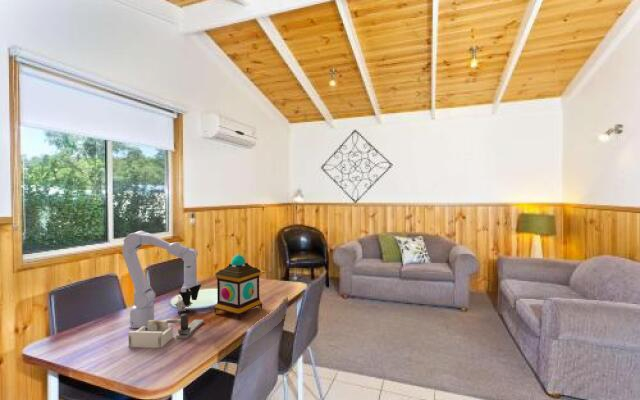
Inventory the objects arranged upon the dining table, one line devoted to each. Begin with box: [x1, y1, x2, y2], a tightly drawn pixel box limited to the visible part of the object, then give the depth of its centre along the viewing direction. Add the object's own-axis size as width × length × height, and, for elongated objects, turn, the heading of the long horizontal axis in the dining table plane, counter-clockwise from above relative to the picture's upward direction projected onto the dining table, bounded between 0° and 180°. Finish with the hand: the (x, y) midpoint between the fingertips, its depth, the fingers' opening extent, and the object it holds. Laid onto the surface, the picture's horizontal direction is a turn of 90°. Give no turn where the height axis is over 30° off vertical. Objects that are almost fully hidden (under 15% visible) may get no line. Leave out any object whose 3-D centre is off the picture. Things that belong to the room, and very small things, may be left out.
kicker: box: [147, 313, 191, 335], centre depth 135 cm, size 17×4×9 cm, turn 87°
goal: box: [127, 326, 174, 349], centre depth 129 cm, size 13×9×6 cm
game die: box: [174, 295, 193, 314], centre depth 163 cm, size 9×8×10 cm
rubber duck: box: [149, 322, 157, 331], centre depth 131 cm, size 5×7×8 cm
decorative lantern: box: [214, 254, 263, 321], centre depth 162 cm, size 20×20×30 cm
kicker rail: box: [176, 319, 205, 339], centre depth 141 cm, size 4×17×1 cm, turn 177°
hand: (190, 302), depth 150 cm, fingers open, 7 cm apart
